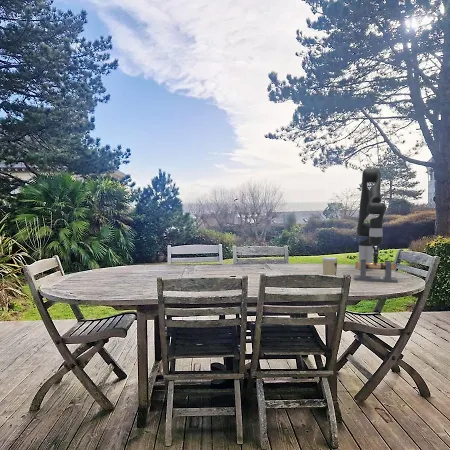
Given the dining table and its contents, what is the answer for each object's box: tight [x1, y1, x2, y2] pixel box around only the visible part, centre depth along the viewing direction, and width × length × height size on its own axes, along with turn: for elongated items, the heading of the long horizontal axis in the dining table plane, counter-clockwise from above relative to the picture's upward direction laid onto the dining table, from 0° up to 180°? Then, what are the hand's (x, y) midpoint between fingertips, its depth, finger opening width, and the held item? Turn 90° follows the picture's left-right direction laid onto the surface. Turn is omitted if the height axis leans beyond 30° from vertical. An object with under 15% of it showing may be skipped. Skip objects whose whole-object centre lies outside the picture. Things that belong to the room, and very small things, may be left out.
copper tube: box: [354, 261, 397, 271], centre depth 230 cm, size 23×4×4 cm, turn 70°
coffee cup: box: [321, 256, 338, 277], centre depth 242 cm, size 9×9×12 cm
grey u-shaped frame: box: [353, 260, 399, 284], centre depth 230 cm, size 10×24×12 cm, turn 70°
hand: (375, 262), depth 230 cm, fingers open, 8 cm apart
